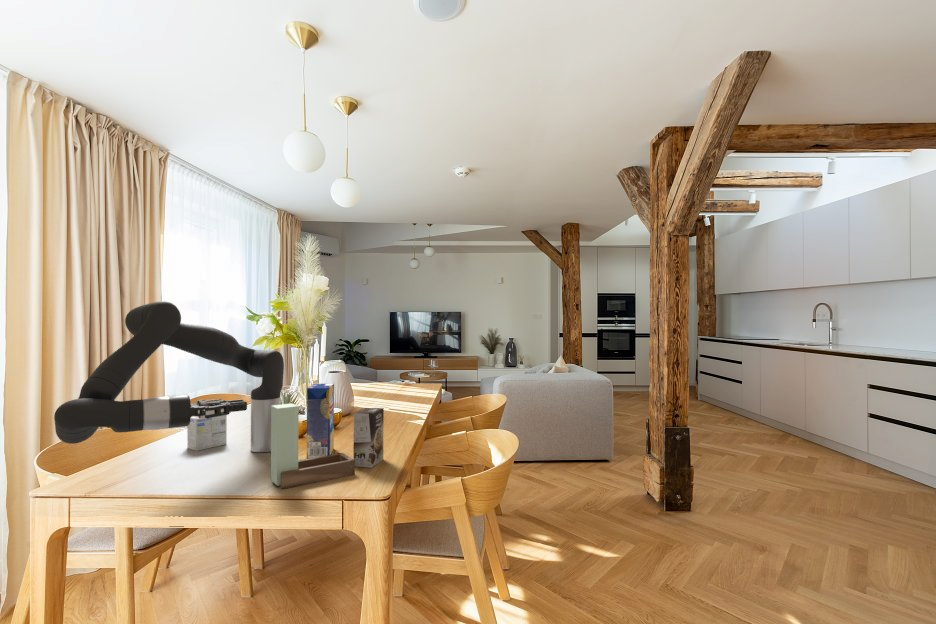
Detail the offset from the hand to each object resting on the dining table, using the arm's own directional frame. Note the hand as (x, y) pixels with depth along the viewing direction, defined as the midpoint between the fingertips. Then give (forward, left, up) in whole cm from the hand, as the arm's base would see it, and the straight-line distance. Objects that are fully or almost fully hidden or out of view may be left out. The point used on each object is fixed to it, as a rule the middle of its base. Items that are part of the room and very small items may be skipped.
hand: (244, 404), depth 125 cm
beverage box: (-22, +28, -22) cm, 42 cm away
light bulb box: (-54, 0, -22) cm, 58 cm away
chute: (0, +18, -22) cm, 29 cm away
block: (0, +10, -22) cm, 24 cm away
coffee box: (-3, +36, -22) cm, 43 cm away
